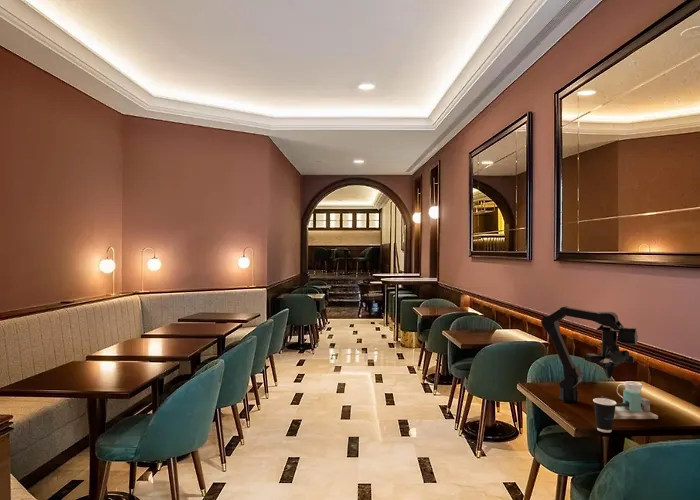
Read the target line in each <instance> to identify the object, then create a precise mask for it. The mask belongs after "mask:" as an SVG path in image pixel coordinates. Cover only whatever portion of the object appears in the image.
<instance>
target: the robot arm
mask: <svg viewBox="0 0 700 500" xmlns="http://www.w3.org/2000/svg"><path fill="white" fill-rule="evenodd" d="M565 317H571V318H576V319H582V320H587V321H592V322H594V323H596V324H598V325H600V326H599V327H598V328H596V330H597V331H601V342H600V343H599V346H601V351H600V352H599V354H596V353H585V355H584V361H587V362H589V363H592V364H593V363H595V364H597V363H598V364H600V365H601V368H602V369H603V371H604V373H605V376H606V378H607V379H611V378H612V375H613V374H614V371H615V369H616V367H618V366H620V365H621V364H623V363H625V362H626V363H627V364H634V363H635V357H634V356H633V355H631V354H630V352H629V351H628V350H620V346H619V344H618V342H620V344H625V345H626V344H627V345H633V346H634V345H635V346H637V345H638V342H639V341H638V340H639V338H638V331H637V328H636V327H632V328H629V327H624V326H623V324H622V323H621V321H620V320H619V317H618V315H617V314H616V312H613V311H592V310H586V309H582V308H581V309H580V308H576V307H575V308H574V307H569V306H567V305H564V306H562V307H560V308H559V309H557V310H556V311H554V312H552V313H551V314H548V315H545V316H543V317H542V318H541V320H540V324H541V327H543V329H544V330H545V332H546V333H547V334H548V335H549V336H550V338H551V341H552V343H553V345H554V348H555V351H556V353H557V357H558V358H559V360H560V362H561V365H562V374H563V380H561V381H560V382H559V383H558V385H559V387H560V388H559V396H558V398H557V399H559V400H560V401H562V402H563V403H567V404H568V403H569V404H570V403H573V404H574V403H579V402H580V401H579V391H578V387H577V386H578V384H580V383H581V382H582V380H583V374H584V373H583V372H582V371H581V367H580V365H577V366H576V365H575V363H574V362H573V360H572V357H571V355H570V352H569V351H568V349H567V346H566V344H565V341H564V339H563V336H562V333H561V327H560V322H559V321H562V319H564V318H565Z"/></svg>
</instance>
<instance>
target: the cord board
mask: <svg viewBox="0 0 700 500" xmlns="http://www.w3.org/2000/svg"><path fill="white" fill-rule="evenodd" d="M600 398H605V399H608V397H605V396H604V395H600ZM616 403H617V404H616V407H615V414H614V420H653V419H654V420H658V419H659V415H657V414H655V413H653V412H651V400H649V399H647V398H645V397H641V412H631V411H629V408H624V407H629V403H623V402H616Z"/></svg>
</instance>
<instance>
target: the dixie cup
mask: <svg viewBox="0 0 700 500" xmlns="http://www.w3.org/2000/svg"><path fill="white" fill-rule="evenodd" d="M605 398H606V397H604V398H601V397H596V398H593V399H592V401H593V404H594V405H593V408H594V415H595V425H596V429H597V431H599V432H601V433H612V431H613V427H614V420H615V419H614V414H615V407H616V404H617V403H618V402H616V401H615V400H614V399H610V398H607V399H605Z"/></svg>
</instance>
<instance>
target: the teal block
mask: <svg viewBox="0 0 700 500" xmlns="http://www.w3.org/2000/svg"><path fill="white" fill-rule="evenodd" d="M622 391H623V392H622V394H623V395H622V397H623V398H622V403H629V407H624V408H629V411H631V412H641V398H642V393H639V392H637V391H634V390H625V389H622Z"/></svg>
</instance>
